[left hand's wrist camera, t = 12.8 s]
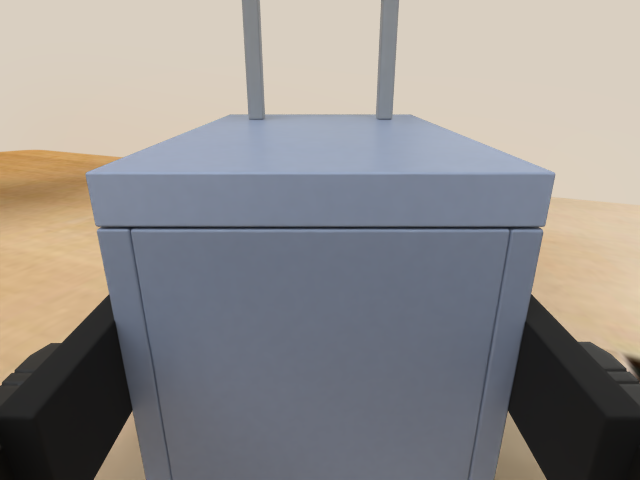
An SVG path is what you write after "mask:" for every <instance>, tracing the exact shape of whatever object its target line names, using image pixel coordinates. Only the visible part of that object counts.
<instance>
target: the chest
mask: <svg viewBox="0 0 640 480" xmlns="http://www.w3.org/2000/svg"><path fill="white" fill-rule="evenodd" d="M97 234H98V239H99V244H100V249H101V255H102V260H103V265H104V270H105V275H106V280H107V285H108V290H109V295H110V300H111V305H112V310H113V315H114V320H115V323H116V328H117V333H118V339H119V344H120V349H121V354H122V359H123V364H124V369H125V374H126V379H127V384H128V389H129V394H130V399H131V404H132V409H133V410H132V411H133V416H134V421H135V426H136V431H137V436H138V441H139V446H140V451H141V456H142V461H143V466H144V471H145V476H146V480H494V478H495V473H496V468H497V462H498V457H499V452H500V447H501V442H502V437H503V432H504V427H505V422H506V417H507V412H508V407H509V402H510V397H511V392H512V387H513V382H514V377H515V372H516V367H517V361H518V356H519V351H520V346H521V341H522V336H523V331H524V326H525V321H526V317H527V312H528V307H529V302H530V297H531V291H532V286H533V281H534V276H535V271H536V266H537V261H538V256H539V251H540V246H541V241H542V236H543V230H542V229H541V228H539V227H101V228H99V229H98V230H97Z"/></svg>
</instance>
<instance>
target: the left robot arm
mask: <svg viewBox="0 0 640 480" xmlns="http://www.w3.org/2000/svg"><path fill="white" fill-rule="evenodd" d="M132 410H133V409H132V404H131V399H130V394H129V389H128V384H127V379H126V374H125V369H124V364H123V359H122V354H121V349H120V344H119V339H118V333H117V328H116V323H115V320H114V315H113V310H112V305H111V300H110V295H108V296H107V297H106V298H105V299H104V300H103V301H102V302H101V303H100V304H99V305H98V306H97V307H96V308H95V309H94V310H93V311H92V312H91V313H90V315H89V316H88V317H87V318H86V319H85V320H84V321H83V322H82V323H81V324H80V325H79V326H78V327H77V328H76V329H75V330H74V331H73V332H72V333H71V334H70V335H69V336H68V337H67V338H66V339H65V340H64V341H63V342H62V343H51V344H49V345H47V346H45V347H44V348H42V349H40V350H39V351H37V352H35V353H34V354H32V355H30V356H29V357H28V358H27V359H26V360H25V361H24V362H23V363H22V364H21V365H20V366H19V367H18V368H17V369H16V370H15V373H11V374H10V375H9V376H8V377H7V378H6V379H5V380H4V381H3V382H2V385H1V386H0V480H94V478H95V476H96V474H97V472H98V471H99V469H100V467H101V465H102V464H103V462H104V460H105V458H106V456H107V455H108V453H109V451H110V449H111V448H112V446H113V444H114V442H115V440H116V439H117V437H118V435H119V433H120V432H121V430H122V428H123V426H124V424H125V423H126V421H127V419H128V417H129V416H130V414H131V412H132ZM508 411H509V413H510V415H511V417H512V418H513V420H514V422H515V424H516V425H517V427H518V429H519V431H520V433H521V434H522V436H523V438H524V440H525V441H526V443H527V445H528V447H529V448H530V450H531V452H532V454H533V456H534V457H535V459H536V461H537V463H538V464H539V466H540V468H541V470H542V472H543V473H544V475H545V477H546V479H547V480H640V384H639V380H638V379H636V378H635V377H634V376H633V375H632V374H631V373H630V372H627V371H626V368H625V367H624V366H623V365H622V364H621V363H620V362H619V361H618V360H617V359H615V358H614V357H613V356H612V355H611V354H610V353H608V352H606V351H605V350H603V349H601V348H599V347H598V346H596V345H594V344H593V343H591V342H577V341H576V340H575V339H574V338H573V337H572V336H571V335H570V334H569V332H568V331H567V330H566V329H565V328H564V327H563V326H562V325H561V324H560V323H559V322H558V321H557V320H556V319H555V318H554V317H553V316H552V315H551V314H550V313H549V312H548V311H547V310H546V309H545V308H544V307H543V306H542V305H541V304H540V303H539V302H538V301H537V300H536V299H535V298H534V296H533V295H532V294H531V297H530V302H529V307H528V312H527V317H526V321H525V326H524V331H523V336H522V341H521V346H520V351H519V356H518V361H517V367H516V372H515V377H514V382H513V387H512V392H511V397H510V402H509V407H508Z"/></svg>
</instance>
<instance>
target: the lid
mask: <svg viewBox="0 0 640 480" xmlns="http://www.w3.org/2000/svg"><path fill="white" fill-rule="evenodd" d="M398 8H399V0H381V17H380V39H379V62H378V84H377V106H376V115H265V108H264V86H263V63H262V41H261V18H260V0H242V10H243V28H244V45H245V62H246V80H247V97H248V115H228V116H226V117H223V118H221V119H218V120H216V121H213V122H211V123H208V124H206V125H203V126H201V127H198V128H196V129H193V130H191V131H188V132H186V133H183V134H181V135H178V136H176V137H173V138H171V139H168V140H166V141H163V142H161V143H158V144H156V145H153V146H151V147H148V148H146V149H143V150H141V151H138V152H136V153H134V154H131V155H129V156H126V157H124V158H121V159H119V160H116V161H114V162H111V163H109V164H106V165H104V166H101V167H99V168H96V169H94V170H91V171H89V172H86V179H87V184H88V189H89V194H90V200H91V205H92V210H93V215H94V220H95V225H96V226H98V227H544V226H545V224H546V219H547V214H548V209H549V204H550V199H551V194H552V188H553V184H554V178H555V173H554V172H552V171H549V170H547V169H544V168H542V167H539V166H537V165H534V164H532V163H529V162H527V161H524V160H522V159H519V158H517V157H514V156H512V155H510V154H507V153H505V152H502V151H500V150H497V149H495V148H492V147H490V146H487V145H485V144H482V143H480V142H477V141H475V140H472V139H470V138H467V137H465V136H462V135H460V134H457V133H455V132H453V131H450V130H447V129H445V128H442V127H440V126H438V125H435V124H433V123H430V122H428V121H425V120H423V119H420V118H418V117H415V116H413V115H392V111H393V94H394V76H395V60H396V42H397V25H398Z"/></svg>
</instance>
